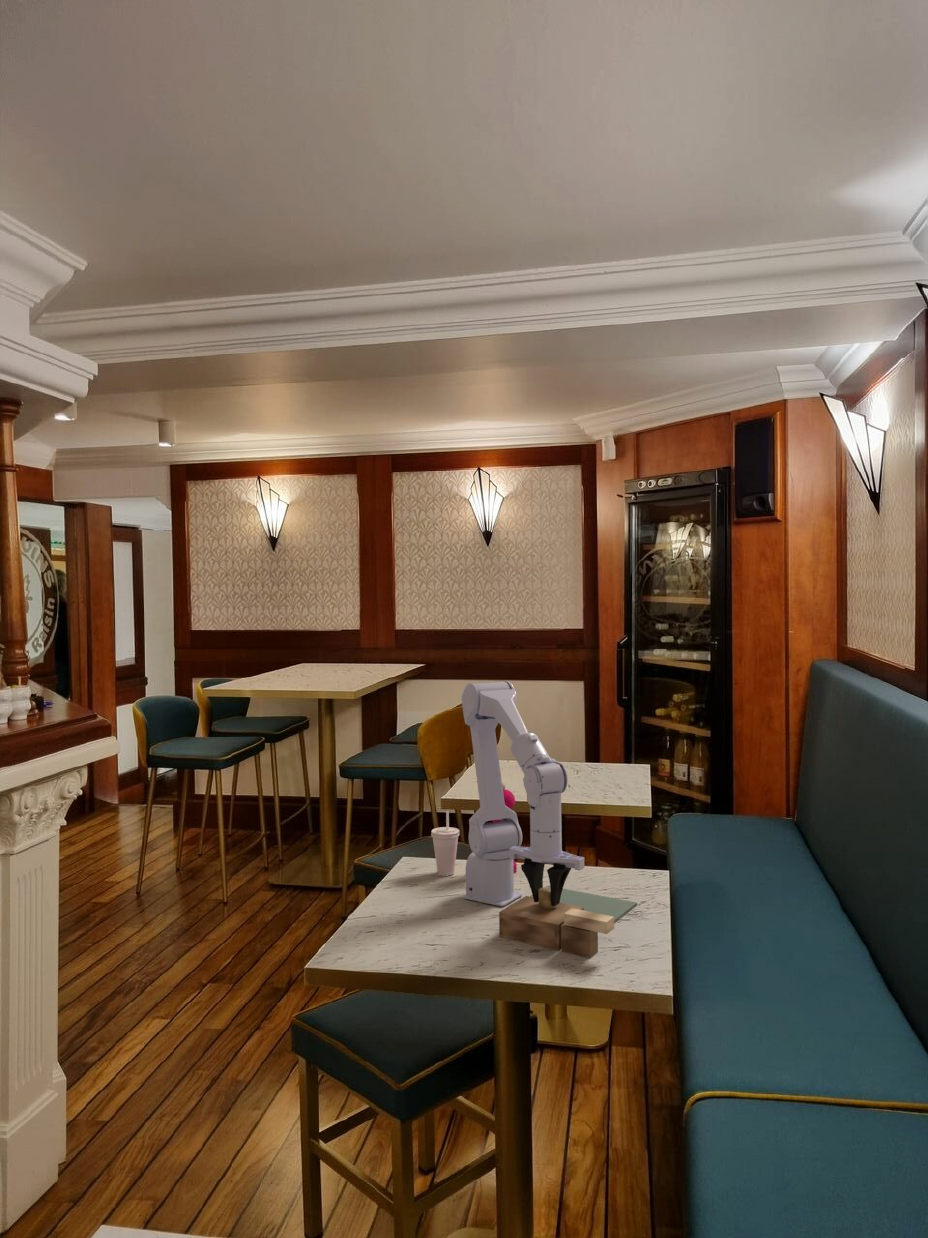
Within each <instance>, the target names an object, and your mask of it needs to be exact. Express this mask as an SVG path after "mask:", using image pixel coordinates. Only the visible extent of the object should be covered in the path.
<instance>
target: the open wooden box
mask: <svg viewBox="0 0 928 1238" xmlns="http://www.w3.org/2000/svg"><path fill="white" fill-rule="evenodd" d="M498 922H499V923H498V924H499V925H498V927H499V932H498V933H499V937H500V938H503V939H507V940H511V941H516V942H521V943H524V944H529V945H533V946H538V947H542V948H547V949H550V950H554V951H560V950H561V952H564V953H567V954H571V955H572V954H573V955H576V956H580V957H585V958H589V959H591V958H593V957H594V956H595V955H596V954H597V953H598V952H599V935H598V934H599V932H595V931H590V930H586V929H581V928H576V927H572V926H567V925H564V924H562V925H561V929H560V930H559V931H558V930H554V929H549V928H545V927H540V926H536V925H531V924H527V923H522V922H517V921H513V920H508V919H504V918H499V917H498Z"/></svg>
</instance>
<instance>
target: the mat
mask: <svg viewBox="0 0 928 1238" xmlns="http://www.w3.org/2000/svg"><path fill="white" fill-rule="evenodd" d="M545 887H548V888H550V885H546V886H545ZM529 897H533V895H532V894H531V895H530V896H529ZM560 903H564V904H569V905H574V906H579V907H584V911H589V912H594V913H598V914H603V915H608V916H613V917H614V924H615V923H616V922H617V921H619V920H620V919H622V918H623V917H624V916H626V915H627V914H628V913H629V912H631V911H632V910H633V909H634V908H636V907H637V906H638V902H635V901H630V900H624V899H619V898H614V897H610V896H605V895H599V894H593V893H588V892H582V891H579V890H578V891H577V890H573V889H567V888H563V889H562V893H561V898H560Z"/></svg>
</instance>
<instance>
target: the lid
mask: <svg viewBox="0 0 928 1238" xmlns="http://www.w3.org/2000/svg"><path fill="white" fill-rule="evenodd" d="M538 897H539V902H534V899H533V897H530V896H528V895H525V896H523V897H522V898H520V899H519V900H517V901H515V902H513V903H512V904H510V905H508V906H507V907H505V908H504V909H502V910H500V911H499V912H498V919H499V918H504V919H508V920H513V921H517V922H522V923H527V924H531V925H536V926H540V927H545V928H549V929H554V930H558V931H559V930H560V929H561V925H562V924H564V913H565V912H567V911H568V910H570V909H571V908H574V909H579V910H584V907H579V906H574V905H569V904H564V903H559V904H557V905H556V906H551V889H550V888H548V887H546V886H543V888H540V889H539V890H538Z"/></svg>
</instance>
